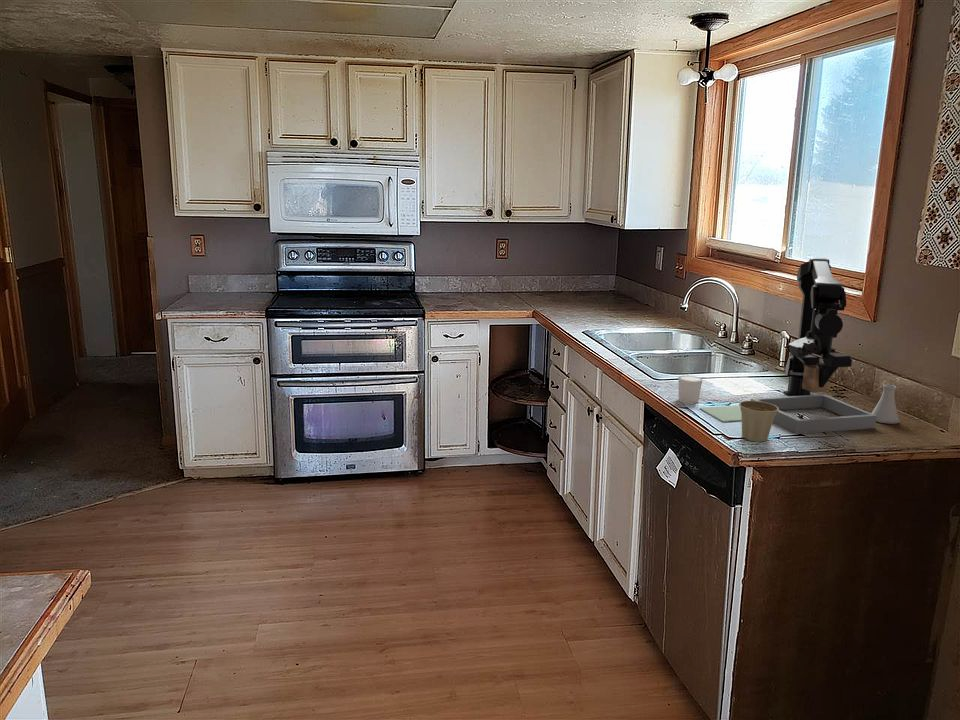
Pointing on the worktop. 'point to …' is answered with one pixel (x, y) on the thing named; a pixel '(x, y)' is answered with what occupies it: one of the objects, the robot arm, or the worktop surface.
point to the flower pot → (757, 419)
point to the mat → (724, 413)
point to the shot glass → (689, 389)
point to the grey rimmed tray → (848, 420)
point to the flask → (887, 406)
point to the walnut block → (812, 379)
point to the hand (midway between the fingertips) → (814, 384)
